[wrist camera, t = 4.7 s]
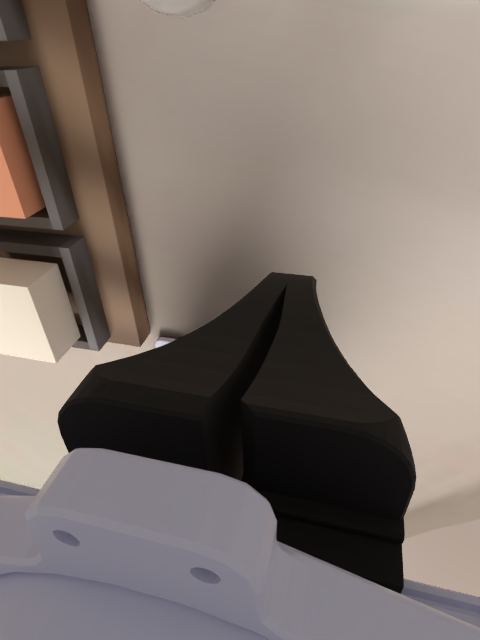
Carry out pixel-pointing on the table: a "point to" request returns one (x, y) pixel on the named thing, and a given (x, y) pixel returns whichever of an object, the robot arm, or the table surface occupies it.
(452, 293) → the table surface
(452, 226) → the table surface
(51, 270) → the cream button
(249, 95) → the table surface
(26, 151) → the terracotta button
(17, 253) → the button board
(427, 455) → the table surface
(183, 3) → the rook chess piece
